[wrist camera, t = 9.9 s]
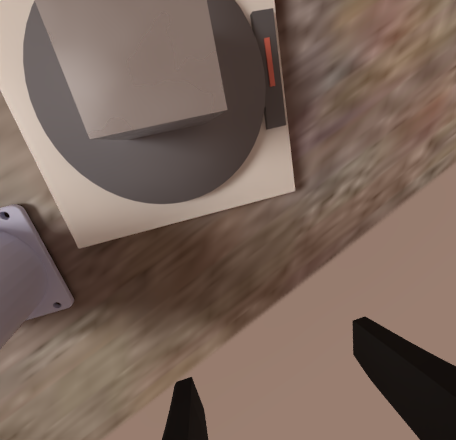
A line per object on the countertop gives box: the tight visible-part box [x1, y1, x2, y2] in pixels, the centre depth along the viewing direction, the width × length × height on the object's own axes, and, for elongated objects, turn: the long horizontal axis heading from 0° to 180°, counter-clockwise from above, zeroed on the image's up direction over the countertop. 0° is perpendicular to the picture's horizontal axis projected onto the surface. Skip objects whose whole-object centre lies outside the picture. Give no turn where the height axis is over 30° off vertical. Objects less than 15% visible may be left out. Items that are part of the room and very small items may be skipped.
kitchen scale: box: [0, 0, 295, 249], centre depth 14 cm, size 15×15×2 cm
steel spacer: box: [35, 0, 227, 140], centre depth 9 cm, size 4×4×6 cm
